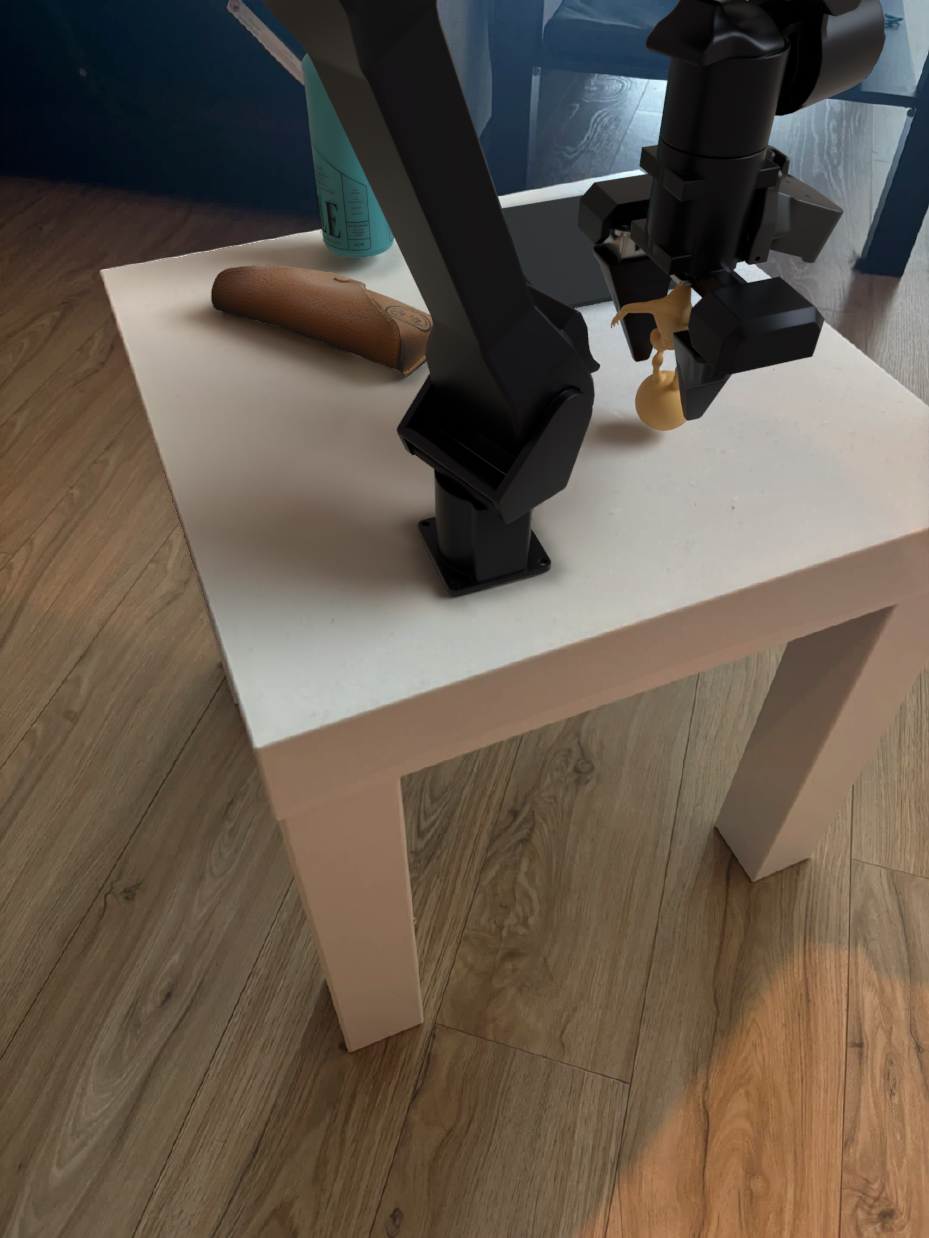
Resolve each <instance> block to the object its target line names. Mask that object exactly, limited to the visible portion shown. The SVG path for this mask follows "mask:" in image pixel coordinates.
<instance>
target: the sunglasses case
mask: <svg viewBox="0 0 929 1238" xmlns="http://www.w3.org/2000/svg"><path fill="white" fill-rule="evenodd" d="M366 286H367V285H366V282H365V283H364V282H363V281H359V280H356V279H353V278H350V277H347V276H344V275H342V274H339V273H334V272H330V271H329V272H328V271H324V270H323V271H322V270H314V269H308V268H302V267H295V266H285V265H270V264H269V265H267V264H266V265H243V266H235V267H228V268H225V269H223V270H221V271H220V272H219V273H218V274H217V275H216V276H215V278H214V280H213V283H212V285H211V291H210V293H211V295H210V300H211V305H212V307H213V309H215V310H216V311H218V312H221V313H224V314H229V315H232V316H234V317H238V318H243V319H246V320H250V321H253V322H254V321H256V322H259V323H261V324H264V325H268V326H273V327H277V328H280V329H282V330H283V331H287V332H289V333H293V334H295V335H298V336H300V337H302V338H305V339H308V340H309V339H310V340H312V341H315V342H318V343H319V342H320V343H323V344H325V345H327V346H329V347H331V348H334V349H337V350H340V351H343V352H346V353H349V354H352V355H354V356H357V357H360V358H363V359H365V360H368V361H371V362H373V363H376V364H379V365H381V366H384V367H386V368H389V369H391V370H396V371H399V372H400V373H401V374H403V375H404V376H406V377H409V376H410V375H411V374H412V373H414V372H415V371H416V370H418V369H419V368H420V367H421V366H423V365H424V364H425V363H427V361H426V358H425V348H426V345H427V341H428V338H429V335H430V331H431V328H432V325H433V322H432V318H431V315H430V313H427V312H425V311H423V310H420V309H419V308H416V307H414V306H412V305H409V304H407V303H405V302H402V301H400V300H397V299H395V298H392V297H390V296H387V295H385V294H382V293H379V292H376V291H374V290H370V289H368V288H366Z"/></svg>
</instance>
